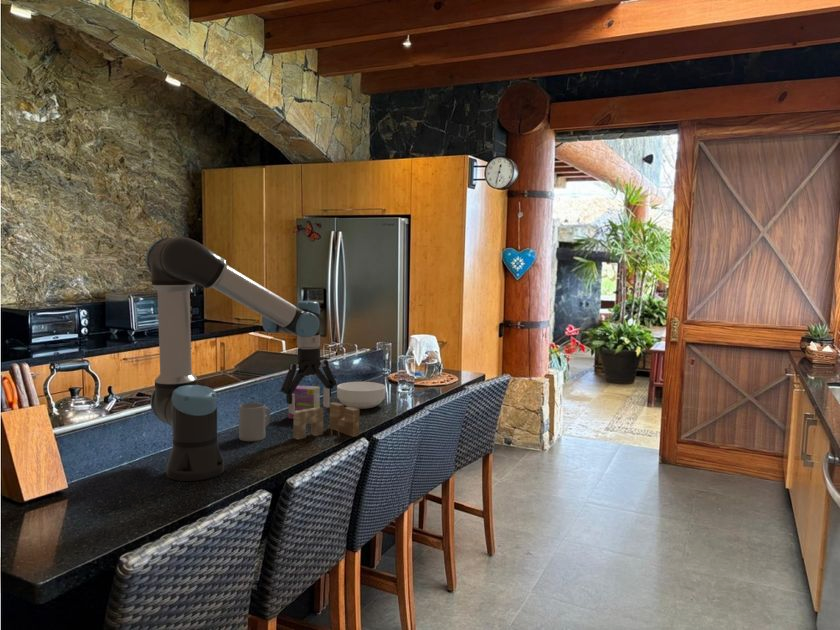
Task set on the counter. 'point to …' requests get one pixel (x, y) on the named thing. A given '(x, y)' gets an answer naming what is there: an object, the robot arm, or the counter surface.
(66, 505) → the counter surface
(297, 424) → the notched wooden horseshoe piece
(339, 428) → the notched wooden block
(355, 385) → the bowl
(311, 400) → the box
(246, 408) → the mug
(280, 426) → the counter surface
